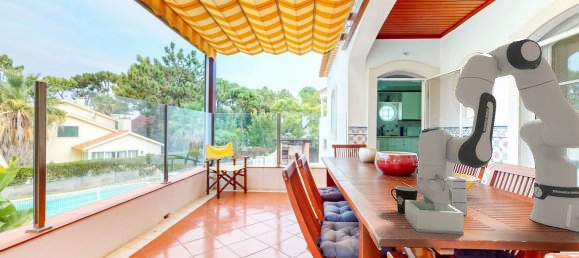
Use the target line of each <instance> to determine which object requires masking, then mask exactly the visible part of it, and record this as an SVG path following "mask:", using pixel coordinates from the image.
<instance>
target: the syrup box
mask: <svg viewBox="0 0 579 258" xmlns="http://www.w3.org/2000/svg"><path fill="white" fill-rule="evenodd" d="M447 184H448V188H449V204H450V205H451V206H453V207H455V208H456V209H458V210H459V211H461V212H463V213H464V216H467V215H468V202H467V201H468V199H467V197H468V196H467V193H468V192H467V191H468V190H467V187H468V186H467V185H468V184H467V179H465V178H463V177H460V176H455V177H447Z"/></svg>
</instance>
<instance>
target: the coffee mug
mask: <svg viewBox="0 0 579 258" xmlns="http://www.w3.org/2000/svg"><path fill="white" fill-rule="evenodd" d="M393 191H395V195H394V194H393ZM418 193H419V191H418V188H416V187H412V186H402V185H399V186H395V187H393V188H391V190H390V194H391V196H392V198H393V199H394V201H395V202H396V208H397V213H398V214H401V215H404V216H405V200H418Z"/></svg>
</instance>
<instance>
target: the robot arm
mask: <svg viewBox="0 0 579 258" xmlns="http://www.w3.org/2000/svg"><path fill="white" fill-rule="evenodd" d="M510 75H511V76H512V77H513V78H514V81H515V86H516V88H517V90H518V93H519V95H520V98H521V101H522V104H523V107H524V108H525V109H526V110H527V111H529V112H531V113H533V114H534V115H535V116H537V119H536V118H535V119H533V120H530V121H526V122H525V123H523V124H522V125H521V127H520V129H519V136H520V139H521V140H522V141H523V142H524V143H525V144H526V145H527V146H528V148H529V151H530V152H531V155H532V157H533V160H534V169H535V171H534V173H535V177H534V178H535V181H534V182H533V194H534V195H533V196H534V200H533V207H532V210H531V213H530V216H529V219H530V220H531V221H534V222H536V223H539V224H542V225H546V226H549V227H554V228H560V229H564V230H569V231H571V232H572V231H573V232H577V233H578V232H579V185H578V165H577V164H576V163H575V162H574V161H573V160H572V159H571V158H569V157H568V154H567V153H566V152H565V151H566V150H565V149H579V112H578V111H577V110H576V109H575V108H574V107H573V105H571V104H570V102H569V101H568V100H567V99H566V97H565V95H564V93H563V90H562V88H561V86H560V84H559V81H558V79H557V76H556V74H555V71H554V70H553V68H552V66H551V65H550V64H549V62H548V61H547V59H546V58H545V57H544V56H543V52H542V47H541V45H539V43H538V42H537V41H535V40H534V39H531V38H529V37H528V38H520V39H516V40H513V41H511V42H509V43H505V44H503V45H501V46H498V47H496V48H495V49H492V50H491V51H488V52H486V53H479V54H475V55H473V56H471V57H470V58H469V59H468V60H467V62H466V63H465V65H464V67H463V69H462V71H461V73H460V74H459V77H458V80H457V84H456V86H455V90H454V91H455V94H454V95H455V97H456V100H457V101H458V102H459V103H460V104H462V105H463V106H465V107H467V108H470V109H472V110H473V113H474V114H473V120H472V127H471V133H470V134H469V135H468V136H467V137H466V136H465V137H464V136H455V135H453V134H452V133H449V132H448V131H446V130H445V128H444V127H441V126H435V127H426V128H424V129H422V130H421V131H420V133H419V136H418V154H419V160H418V164H417V167H415V175H416V184H417V185H416V186H417V189H418V193H419V194H420V195H422V196H423V198H422V199H426V200H431V201H433V202H434V209H433V211H440V209H441V207H442V205H444V206H447V205H449V188H448V184H447V182H445V181H444V179H446V162H450V163H455V165H456V164H457V165H462V166H466V167H469V168H474V169H480V168H483V167H484V166H486V165H487V164H488V163H489V162H490V161H491V159H492V156H493V152H494V151H493V134H494V127H495V119H496V114H497V100H496V97H495V96H494V95H493V89H494V86H495V80H496V79H498V78H503V77H507V76H510Z"/></svg>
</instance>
